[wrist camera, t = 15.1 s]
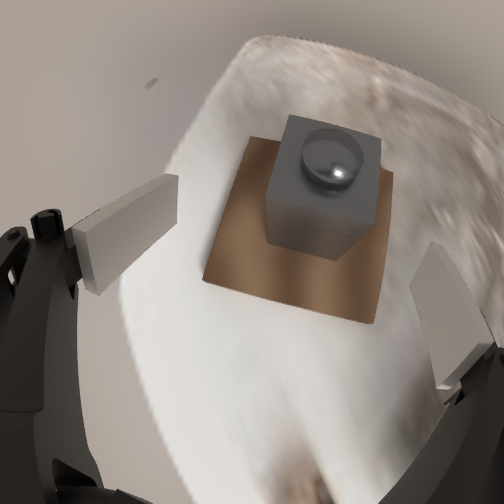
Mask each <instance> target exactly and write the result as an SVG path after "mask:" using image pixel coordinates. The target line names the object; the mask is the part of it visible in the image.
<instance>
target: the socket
mask: <svg viewBox="0 0 504 504" xmlns="http://www.w3.org/2000/svg"><path fill="white" fill-rule="evenodd" d="M380 159H381V139H380V138H377V137H374V136H371V135H368V134H364V133H361V132H358V131H355V130H351V129H348V128H344V127H340V126H337V125H333V124H329V123H325V122H321V121H317V120H313V119H308V118H304V117H299V116H294V115H289V118H288V121H287V124H286V128H285V131H284V134H283V138H282V141H281V144H280V148H279V151H278V154H277V158H276V161H275V165H274V168H273V171H272V175H271V178H270V181H269V185H268V188H267V191H266V195H265V199H266V216H267V234H268V244H271V245H275V246H279V247H283V248H287V249H290V250H294V251H298V252H302V253H306V254H310V255H313V256H317V257H321V258H325V259H329V260H332V261H337V260H338V259H339V258H341V257H342V256H343V255H344V254H345V253H346V252H347V251H348V250H349V249H350V248H351V247H352V246H353V245H354V244H355V243H356V242H357V241H358V240H359V239H360V238H361V237H362V236H363V235H364V234H365V233H366V232H367V231H368V230H369V229H370V228H371V227H372V226H373V225H374V224H375V216H376V207H377V198H378V187H379V175H380Z"/></svg>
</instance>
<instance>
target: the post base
mask: <svg viewBox="0 0 504 504" xmlns="http://www.w3.org/2000/svg"><path fill="white" fill-rule="evenodd" d="M280 144H281V142H279V141H274V140H269V139H263V138H258V137H252V136H250V139H249V142H248V145H247V147H246V150H245V153H244V156H243V158H242V161H241V164H240V167H239V170H238V172H237V175H236V178H235V181H234V184H233V187H232V190H231V192H230V195H229V198H228V201H227V204H226V207H225V210H224V213H223V216H222V219H221V222H220V225H219V228H218V231H217V234H216V238H215V241H214V244H213V247H212V250H211V253H210V256H209V260H208V263H207V266H206V269H205V272H204V276H203V279H202V280H203V281H205V282H207V283H210V284H214V285H217V286H221V287H224V288H228V289H231V290H235V291H238V292H242V293H246V294H249V295H253V296H256V297H260V298H264V299H268V300H271V301H275V302H279V303H283V304H287V305H291V306H295V307H299V308H303V309H307V310H311V311H315V312H319V313H323V314H327V315H331V316H336V317H340V318H344V319H348V320H353V321H357V322H362V323H366V324H373V322H374V318H375V313H376V309H377V304H378V299H379V294H380V289H381V283H382V277H383V271H384V265H385V258H386V251H387V244H388V235H389V226H390V216H391V204H392V189H393V172H390V171H387V170H384V169H381V168H380V175H379V187H378V198H377V207H376V216H375V224H374V225H373V226H372V227H371V228H370V229H369V230H368V231H367V232H366V233H365V234H364V235H363V236H362V237H361V238H360V239H359V240H358V241H357V242H356V243H355V244H354V245H353V246H352V247H351V248H350V249H349V250H348V251H347V252H346V253H345V254H344V255H343V256H342V257H341V258H339V259H338V260H337V261H332V260H329V259H325V258H321V257H317V256H313V255H310V254H306V253H302V252H298V251H294V250H290V249H287V248H283V247H279V246H275V245H271V244H268V234H267V216H266V199H265V195H266V191H267V188H268V185H269V181H270V178H271V175H272V171H273V168H274V165H275V161H276V158H277V154H278V151H279V148H280Z"/></svg>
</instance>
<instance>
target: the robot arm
mask: <svg viewBox="0 0 504 504" xmlns="http://www.w3.org/2000/svg"><path fill="white" fill-rule="evenodd" d="M177 196H178V175H172V174H164V175H162V176H160V177H158V178H156V179H154V180H152V181H150V182H148V183H146V184H144V185H142V186H140V187H139V188H137V189H135V190H133V191H131V192H129V193H127V194H126V195H124V196H122V197H120V198H119V199H117V200H115V201H113V202H112V203H110V204H108V205H107V206H105V207H103V208H101V209H99V210H97V211H95V212H94V213H92V214H91V215H89V216H87V217H86V218H85V219H83V220H81V221H79V222H78V223H76V224H75V225H73V226H72V227H70V228H69V229H67V230H66V231H64V226H63V221H62V215H61V211H60V210H58V209H47V210H43V211H41V212H39V213H37V214H35V215H34V216H33V217H32V218H31V219H30V220H31V224H32V229H33V233H34V237H35V239H31V238H28V234H27V230H26V228H25V227H14V228H11V229H10V230H8V231H7V232H6V233H4V234H3V236H1V238H0V504H153V503H151V502H149V501H146V500H144V499H142V498H139V497H137V496H134V495H131V494H129V493H126V492H124V491H121V490H119V489H117V490H116V491H114V490H110V489H105V488H104V486H103V483H102V479H101V476H100V472H99V469H98V467H97V464H96V462H95V460H94V458H93V456H92V455H91V453H90V451H89V448H88V444H87V439H86V435H85V428H84V422H83V415H82V408H81V399H80V390H79V378H78V360H77V309H78V291H79V289H78V285H77V281H79V280H80V279H81V278H83V282H84V285H85V289H86V290H88V291H90V292H92V293H94V294H96V295H98V296H99V295H100V294H101V293H102V292H103V291H104V290H105V289H106V288H107V287H108V286H109V285H110V284H111V283H112V282H113V281H115V280H116V279H117V278H118V277H119V276H120V275H121V274H122V273H123V272H124V271H125V270H126V269H127V268H128V267H129V266H130V265H131V264H132V263H133V262H134V261H135V260H137V259H138V258H139V257H140V256H141V255H142V254H143V253H144V252H145V251H146V250H147V249H148V248H150V247H151V246H152V245H153V244H154V243H155V242H156V241H157V240H158V239H160V238H161V237H162V236H163V235H164V234H165V233H166V232H167V231H169V230H170V229H171V228H172V227H173V226H174V225H176V224H177ZM10 270H11V272H12V275H13V278H14V282H13V284H11V283H10V280H9V278H8V273H9V271H10ZM409 286H410V289H411V292H412V295H413V298H414V301H415V304H416V307H417V311H418V314H419V317H420V321H421V324H422V328H423V331H424V335H425V339H426V343H427V347H428V351H429V355H430V360H431V364H432V369H433V374H434V379H435V384H436V389H448V390H450V389H451V388H452V387H453V386H454V385H455V384H456V383H457V382H458V381H459V380H460V382H461V386H462V387H461V388H460V389H459V390H458V391H457V392H456V393H455V394H454V395H453V396H451V397H450V398H449V399H448V400H447V401H446V402H445V403H444V404H445V405H447V404H448V403H449V402H451V403H450V405H449V407H448V409H447V410H446V412H445V414H444V416H443V417H442V419H441V421H440V423H439V424H438V426H437V428H436V429H435V431H434V432H433V434H432V436H431V437H430V439H429V440H428V442H427V443H426V445H425V446H424V448H423V449H422V451H421V452H420V453H419V455H418V456H417V458H416V459H415V460H414V462H413V463H412V464H411V466H410V467H409V468H408V470H407V471H406V472H405V473H404V475H403V476H402V477H401V478H400V480H399V481H398V482H397V483H396V484H395V486H394V487H393V488H392V489H391V490H390V491H389V492H388V494H387V495H386V496H385V497H384V498H383V499H382V500H381V501H380V502H379V503H378V504H504V348H502V347H500V348H498V347H497V344H496V342H495V339H494V337H493V335H492V333H491V330H490V328H489V327H488V324H487V322H486V320H485V318H484V316H483V314H482V312H481V310H480V308H479V307H478V305H477V303H476V301H475V299H474V298H473V296H472V294H471V292H470V290H469V288H468V287H467V285H466V283H465V281H464V280H463V278H462V276H461V274H460V273H459V271H458V269H457V268H456V266H455V265H454V263H453V261H452V260H451V258H450V257H449V255H448V254H447V252H446V250H445V249H444V247H443V246H442V245H439V244H437V243H434V242H430V244H429V247H428V249H427V251H426V253H425V255H424V257H423V259H422V261H421V263H420V266H419V268H418V270H417V271H416V273H415V275H414V277H413V279H412V281H411V283H410V285H409ZM55 487H56V488H55ZM56 490H57V491H56Z"/></svg>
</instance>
